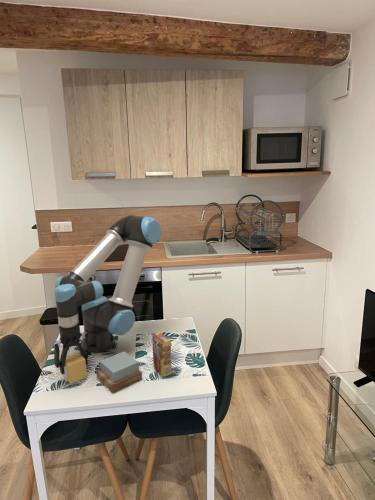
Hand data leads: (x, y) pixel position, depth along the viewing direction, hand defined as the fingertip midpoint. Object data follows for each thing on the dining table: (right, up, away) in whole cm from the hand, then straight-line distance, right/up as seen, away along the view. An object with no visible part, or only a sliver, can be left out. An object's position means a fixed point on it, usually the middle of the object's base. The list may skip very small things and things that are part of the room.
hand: (75, 376), depth 143 cm
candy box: (+35, +1, +3) cm, 35 cm away
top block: (+18, +3, -2) cm, 19 cm away
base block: (+18, -1, -2) cm, 18 cm away
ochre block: (0, 0, 0) cm, 0 cm away
